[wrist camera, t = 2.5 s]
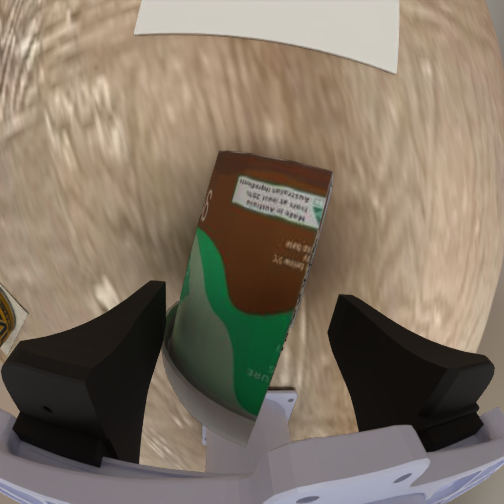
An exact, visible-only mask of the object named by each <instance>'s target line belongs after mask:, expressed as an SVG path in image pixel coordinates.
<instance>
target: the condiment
mask: <svg viewBox="0 0 504 504" xmlns="http://www.w3.org/2000/svg"><path fill="white" fill-rule="evenodd" d="M27 315H28V313H27V312H26V311H25V310H24V309H23V308H22V307H21V306H20V305H19V304H18V303H17V302H16V301H15V300H14V298H13V297H12V296H11V295H10V294H9V293H8V292H7V291H6V290H5V288H4V287H3V286H2V285H1V284H0V349H1V350H2V351H3V352H4V353H5V354H6V355H8V353H9V351H10V349H11V346H12V344H13V342H14V340H15V338H16V336H17V334H18V332H19V330H20V328H21V326H22V325H23V323H24V321H25V319H26V317H27Z"/></svg>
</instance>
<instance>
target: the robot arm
mask: <svg viewBox="0 0 504 504" xmlns="http://www.w3.org/2000/svg"><path fill="white" fill-rule="evenodd" d="M165 328H166V282H163V281H153V280H151V281H149V282H148V283H147V284H145V285H144V286H143V287H141V288H140V289H139V290H138V291H136V292H135V293H134V294H132V295H131V296H130V297H128V298H127V299H126V300H124V301H123V302H121V303H120V304H118V305H117V306H115V307H114V308H112V309H111V310H109V311H108V312H106V313H104V314H103V315H101V316H99V317H97V318H95V319H93V320H91V321H89V322H87V323H84V324H82V325H80V326H77V327H75V328H72V329H70V330H67V331H64V332H61V333H57V334H54V335H50V336H46V337H41V338H36V339H30V340H24V341H20V342H19V343H18V345H17V346H16V347H15V349H14V350H13V352H12V353H11V354H10V356H9V357H8V359H7V360H6V361H5V363H4V364H3V366H2V369H1V374H2V379H3V382H4V384H5V386H6V388H7V390H8V392H9V394H10V396H11V397H12V399H13V401H14V402H15V404H16V406H17V407H18V409H19V411H20V413H19V415H18V417H17V418H16V417H14V416H13V415H12V414H10V413H8V412H6V411H4V410H2V409H0V492H1V493H3V494H4V495H6V496H8V497H10V498H12V499H13V500H15V501H17V502H19V503H21V504H445V503H447V502H449V501H451V500H452V499H454V498H456V497H458V496H459V495H461V494H463V493H465V492H466V491H468V490H469V489H471V488H473V487H474V486H476V485H478V484H479V483H481V482H482V481H484V480H486V479H487V478H488V477H490V476H491V475H492V474H493V473H494V472H495V471H497V470H498V469H499V468H500V467H501V466H502V465H503V464H504V414H503V412H502V411H501V409H500V408H499V407H496V408H493V409H491V410H489V411H487V412H485V413H483V414H482V415H481V416H478V415H477V413H476V412H477V411H478V410H479V406H478V405H477V403H476V401H477V400H478V399H479V397H480V396H481V395H482V393H483V392H484V390H485V389H486V388H487V386H488V385H489V383H490V381H491V380H492V377H493V375H494V369H495V368H494V365H493V363H491V361H490V360H489V359H488V358H487V357H486V356H484V355H480V354H475V353H469V352H464V351H460V350H457V349H453V348H450V347H447V346H444V345H441V344H438V343H436V342H433V341H430V340H428V339H426V338H423V337H421V336H419V335H417V334H415V333H413V332H411V331H409V330H407V329H406V328H404V327H402V326H401V325H399V324H397V323H396V322H394V321H392V320H391V319H389V318H388V317H386V316H384V315H383V314H381V313H380V312H378V311H377V310H375V309H374V308H372V307H371V306H369V305H368V304H366V303H365V302H363V301H362V300H360V299H358V298H357V297H355V296H353V295H343V294H339V296H338V299H337V303H336V306H335V310H334V313H333V316H332V319H331V323H330V326H329V329H328V332H327V333H328V337H329V341H330V345H331V349H332V352H333V355H334V357H335V359H336V362H337V364H338V367H339V369H340V371H341V374H342V376H343V378H344V381H345V383H346V386H347V388H348V391H349V393H350V396H351V400H352V404H353V407H354V411H355V415H356V420H357V425H358V429H359V432H357V433H350V434H343V435H335V436H327V437H317V438H309V439H304V440H299V441H293V442H291V438H290V433H289V428H288V421H289V418H290V415H291V413H292V410H293V408H294V405H295V402H296V399H297V397H298V394H297V392H296V391H293V390H285V391H267V393H266V396H265V399H264V401H263V404H262V407H261V409H260V412H259V415H258V417H257V420H256V423H255V425H254V428H253V430H252V433H251V435H250V438H249V440H248V443H247V445H246V448H244V447H242V446H239V445H237V444H234V443H232V442H230V441H228V440H225V439H224V438H222V437H220V436H219V435H217V434H216V433H214V432H212V431H211V430H209V429H208V428H206V427H205V426H204V425H203V424H202V444H203V445H205V446H206V472H195V471H184V470H174V469H166V468H159V467H152V466H146V465H140V464H139V456H140V444H141V434H142V426H143V419H144V411H145V405H146V399H147V393H148V389H149V385H150V381H151V378H152V375H153V372H154V369H155V366H156V362H157V359H158V356H159V353H160V350H161V347H162V344H163V339H164V334H165Z"/></svg>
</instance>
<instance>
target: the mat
mask: <svg viewBox="0 0 504 504" xmlns="http://www.w3.org/2000/svg"><path fill="white" fill-rule="evenodd" d="M167 34H185V35H211V36H226V37H236V38H246V39H254V40H261V41H268V42H274V43H280V44H286V45H291V46H296V47H301V48H306V49H310V50H315V51H319V52H323V53H327V54H331V55H335V56H339V57H342V58H346V59H349V60H352V61H356V62H359V63H362V64H365V65H368V66H371V67H374V68H377V69H380V70H383V71H386V72H388V73H391V74H394V75H395V74H397V61H398V43H399V0H142V2H141V6H140V10H139V14H138V18H137V22H136V27H135V31H134V35H135V36H140V35H167Z"/></svg>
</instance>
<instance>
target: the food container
mask: <svg viewBox="0 0 504 504" xmlns="http://www.w3.org/2000/svg"><path fill="white" fill-rule="evenodd" d="M332 187H333V171H330V170H326V169H323V168H319V167H315V166H311V165H306V164H302V163H298V162H294V161H289V160H284V159H279V158H273V157H268V156H262V155H257V154H251V153H243V152H234V151H219V153H218V157H217V160H216V163H215V167H214V170H213V173H212V177H211V180H210V184H209V187H208V191H207V194H206V198H205V201H204V205H203V209H202V212H201V216H200V220H199V223H198V227H197V231H196V235H195V239H194V243H193V246H192V250H191V254H190V258H189V262H188V267H187V271H186V275H185V279H184V283H183V288H182V292H181V296H180V301H178V302H176V303H175V304H174V305H173V306H171V307H170V308H169V309H168V311H167V312H166V328H165V334H164V339H163V344H162V347H161V351H162V357H163V363H164V367H165V370H166V374H167V377H168V380H169V381H170V383H171V385H172V387H173V389H174V391H175V393H176V395H177V396H178V398H179V400H180V402H181V403H182V404H183V405H184V407H185V408H186V409H187V410H188V411H189V412H190V414H191V415H192V416H193V417H194V418H196V419H197V420H198V421H199V422H200V423H201V424H203V425H204V426H205V427H206V428H208V429H209V430H211V431H212V432H214V433H216V434H217V435H219V436H220V437H222V438H224V439H225V440H228V441H230V442H232V443H234V444H237V445H239V446H242V447H244V448H246V445H247V443H248V440H249V438H250V435H251V433H252V430H253V428H254V425H255V423H256V420H257V417H258V415H259V412H260V409H261V407H262V404H263V401H264V399H265V396H266V393H267V390H268V388H269V385H270V382H271V379H272V376H273V374H274V371H275V368H276V366H277V362H278V359H279V356H280V353H281V351H282V350H283V344H284V342H285V341H286V338H287V335H288V331H289V329H290V328H292V327H293V324H294V321H295V318H296V315H297V312H298V309H299V306H300V303H301V299H302V296H303V293H304V289H305V286H306V283H307V279H308V276H309V273H310V269H311V266H312V262H313V259H314V255H315V252H316V248H317V245H318V241H319V237H320V234H321V230H322V226H323V222H324V219H325V215H326V211H327V207H328V203H329V199H330V195H331V191H332Z"/></svg>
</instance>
